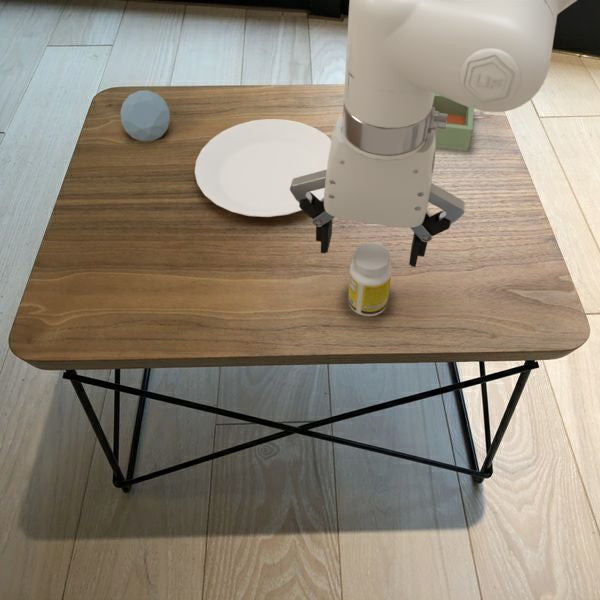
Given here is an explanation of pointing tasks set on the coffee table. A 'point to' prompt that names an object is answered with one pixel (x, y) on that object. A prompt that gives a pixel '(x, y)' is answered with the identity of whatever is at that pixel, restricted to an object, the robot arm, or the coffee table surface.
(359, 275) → the supplement bottle
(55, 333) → the coffee table surface
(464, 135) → the holder
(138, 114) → the gemstone
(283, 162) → the plate
